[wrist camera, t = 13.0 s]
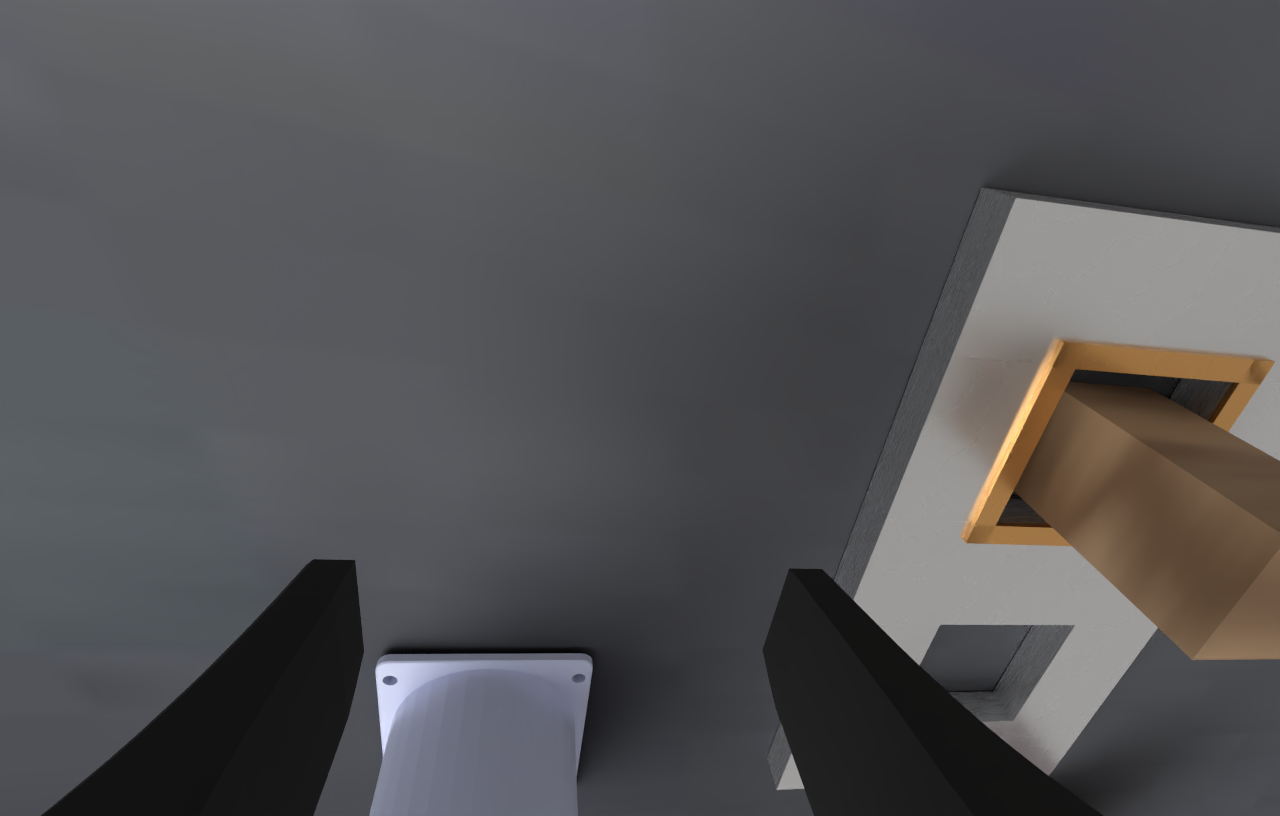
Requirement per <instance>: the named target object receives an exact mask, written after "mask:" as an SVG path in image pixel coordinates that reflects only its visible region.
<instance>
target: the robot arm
mask: <svg viewBox="0 0 1280 816" xmlns="http://www.w3.org/2000/svg"><path fill="white" fill-rule="evenodd" d="M363 653H364V646H363V636H362V626H361V616H360V606H359V596H358V586H357V576H356V566H355V560H317V559H313V560H312V561H311V562H310V563H308V564H307V565H306V566H305V567H304V568H303V569H302V570H301V571H300V572H299V574H298V575H297V576H296V577H295V578H294V579H293V580H292V581H291V582H290V583H289V585H288V586H287V587H286V588H285V589H284V590H283V591H282V592H281V593H280V594H279V595H278V597H277V598H276V599H275V600H274V601H273V602H272V603H271V604H270V605H269V606H268V607H267V608H266V609H265V611H264V612H263V613H262V614H261V615H260V616H259V617H258V618H257V619H256V620H255V621H254V622H253V623H252V624H251V625H250V626H249V627H248V628H247V629H246V631H245V632H244V633H243V634H242V635H241V636H240V637H239V638H238V639H237V640H236V641H235V642H234V643H233V644H232V645H231V646H230V647H229V648H228V649H227V650H226V651H225V652H224V653H223V654H222V655H221V656H220V657H219V658H218V659H217V660H216V661H215V662H214V663H213V664H212V665H211V666H210V667H209V668H208V669H207V670H206V671H205V672H204V673H203V674H202V675H201V676H200V677H199V678H198V679H197V680H196V681H195V682H193V683H192V684H191V685H190V686H189V687H188V688H187V689H186V690H185V691H184V692H183V693H182V694H181V695H180V696H178V697H177V698H176V699H175V700H174V701H173V702H172V703H171V704H170V705H169V706H168V707H167V708H166V709H164V710H163V711H162V712H161V713H160V714H159V715H158V716H157V717H156V718H155V719H154V720H153V721H151V722H150V723H149V724H148V725H147V726H146V727H145V728H144V729H143V730H142V731H141V732H140V733H138V734H137V735H136V736H135V737H134V738H133V739H132V740H131V741H129V742H128V743H127V744H126V745H125V746H124V747H123V748H121V749H120V750H119V751H118V752H117V753H116V754H115V755H113V756H112V757H111V758H110V759H109V760H108V761H106V762H105V763H104V764H103V765H102V766H101V767H99V768H98V769H97V770H96V771H95V772H93V773H92V774H91V775H90V776H89V777H88V778H86V779H85V780H84V781H83V782H81V783H80V784H79V785H78V786H77V787H75V788H74V789H73V790H72V791H70V792H69V793H68V794H67V795H66V796H64V797H63V798H62V799H61V800H60V801H58V802H57V803H56V804H55V805H53V806H52V807H51V808H50V809H48V810H47V811H46V812H45V813H43V814H42V815H41V816H313V815H314V812H315V809H316V806H317V804H318V801H319V798H320V795H321V792H322V790H323V787H324V784H325V781H326V779H327V776H328V773H329V770H330V767H331V765H332V762H333V759H334V756H335V753H336V751H337V748H338V745H339V742H340V739H341V736H342V734H343V731H344V728H345V725H346V722H347V719H348V716H349V712H350V708H351V704H352V700H353V696H354V692H355V688H356V684H357V680H358V675H359V671H360V666H361V662H362V658H363ZM763 653H764V658H765V663H766V667H767V672H768V677H769V682H770V686H771V690H772V694H773V698H774V702H775V706H776V710H777V713H778V715H779V718H780V721H781V724H782V727H783V730H784V733H785V736H786V738H787V741H788V744H789V747H790V750H791V753H792V755H793V758H794V761H795V764H796V767H797V769H798V772H799V775H800V778H801V780H802V783H803V786H804V789H805V792H806V794H807V797H808V800H809V803H810V805H811V808H812V811H813V814H814V816H1103V815H1102V814H1100V813H1099V812H1097V811H1096V810H1095V809H1093V808H1092V807H1090V806H1089V805H1087V804H1086V803H1085V802H1083V801H1082V800H1080V799H1079V798H1078V797H1076V796H1075V795H1074V794H1072V793H1071V792H1069V791H1068V790H1067V789H1065V788H1064V787H1063V786H1061V785H1060V784H1059V783H1057V782H1056V781H1055V780H1053V779H1052V778H1051V777H1049V776H1048V775H1047V774H1046V773H1044V772H1043V771H1042V770H1040V769H1039V768H1038V767H1037V766H1035V765H1034V764H1033V763H1032V762H1030V761H1029V760H1028V759H1027V758H1025V757H1024V756H1023V755H1021V754H1020V753H1019V752H1018V751H1016V750H1015V749H1014V748H1013V747H1011V746H1010V745H1009V744H1008V743H1006V742H1005V741H1004V740H1003V739H1001V738H1000V737H999V736H998V735H997V734H995V733H994V732H993V731H992V730H991V729H989V728H988V727H987V726H986V725H985V724H984V723H982V722H981V721H980V720H979V719H978V718H977V717H975V716H974V715H973V714H972V713H971V712H970V711H969V710H968V709H966V708H965V707H964V706H963V705H962V704H961V703H960V702H959V701H957V700H956V699H955V698H954V697H953V696H952V695H951V694H950V693H948V692H947V691H946V690H945V689H944V688H943V687H942V686H941V685H940V684H939V683H938V682H936V681H935V680H934V679H933V678H932V677H931V676H930V675H929V674H928V673H927V672H926V671H925V670H924V669H923V668H921V667H920V666H919V665H918V664H917V663H916V662H915V661H914V660H913V659H912V658H911V657H910V656H909V655H908V654H907V653H906V652H905V651H904V650H903V649H902V648H901V647H900V646H899V645H898V644H897V643H896V642H895V641H894V640H893V639H892V638H891V637H890V636H889V635H888V634H887V633H886V632H885V631H884V630H883V629H882V628H881V627H880V626H879V625H878V624H877V623H876V622H875V621H874V620H873V619H872V618H871V617H870V616H869V615H868V614H867V613H866V612H865V611H864V610H863V609H862V608H861V607H860V606H859V605H858V604H857V603H856V602H855V601H854V600H853V599H852V598H851V597H850V596H849V595H848V594H847V593H846V592H845V591H844V590H843V589H842V588H841V587H840V586H839V585H838V584H837V583H836V582H835V581H834V580H833V579H832V578H831V577H830V576H828V575H827V574H826V573H825V572H824V571H823V570H822V569H789V571H788V574H787V577H786V580H785V583H784V586H783V590H782V593H781V596H780V599H779V602H778V605H777V608H776V611H775V614H774V617H773V620H772V623H771V626H770V629H769V632H768V635H767V638H766V641H765V644H764V647H763ZM592 670H593V665H592V658H591V657H590V656H589V655H586V654H582V653H527V654H389V655H385V656H382V657H381V658H380V659H379V660H378V662H377V666H376V670H375V671H376V683H377V694H378V705H379V716H380V728H381V739H382V750H383V761H382V765H381V769H380V773H379V778H378V782H377V786H376V790H375V794H374V799H373V803H372V807H371V811H370V815H369V816H578V808H577V779H576V777H577V771H578V764H579V757H580V751H581V744H582V737H583V731H584V724H585V717H586V710H587V704H588V697H589V690H590V684H591V677H592Z"/></svg>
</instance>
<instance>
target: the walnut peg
mask: <svg viewBox="0 0 1280 816" xmlns="http://www.w3.org/2000/svg"><path fill="white" fill-rule="evenodd" d="M1013 491H1014V492H1015V493H1016V494H1017V495H1019V496H1020V497H1021V498H1022V499H1023V500H1024V501H1025V502H1026V503H1027V504H1028V505H1029V506H1030V507H1031V508H1032V509H1033V510H1034V511H1035V512H1036V513H1038V514H1039V515H1040V516H1041V517H1042V518H1043V519H1044V520H1045V521H1046V522H1047V523H1048V524H1049V525H1050V526H1051V527H1052V528H1053V529H1054V530H1055V531H1057V532H1058V533H1059V534H1060V535H1061V536H1062V537H1063V538H1064V539H1065V540H1066V541H1067V542H1068V543H1069V544H1070V545H1071V546H1072V547H1073V548H1075V549H1076V550H1077V551H1078V552H1079V553H1080V554H1081V555H1082V556H1083V557H1084V558H1085V559H1086V560H1087V561H1088V562H1089V563H1090V564H1091V565H1092V566H1094V567H1095V568H1096V569H1097V570H1098V571H1099V572H1100V573H1101V574H1102V575H1103V576H1104V577H1105V578H1106V579H1107V580H1108V581H1109V582H1110V583H1111V584H1113V585H1114V586H1115V587H1116V588H1117V589H1118V590H1119V591H1120V592H1121V593H1122V594H1123V595H1124V596H1125V597H1126V598H1127V599H1128V600H1129V601H1131V602H1132V603H1133V604H1134V605H1135V606H1136V607H1137V608H1138V609H1139V610H1140V611H1141V612H1142V613H1143V614H1144V615H1145V616H1146V617H1147V618H1148V619H1150V620H1151V621H1152V622H1153V623H1154V624H1155V625H1156V626H1157V627H1158V628H1159V629H1160V630H1161V631H1162V632H1163V633H1164V634H1165V635H1166V636H1167V637H1169V638H1170V639H1171V640H1172V641H1173V642H1174V643H1175V644H1176V645H1177V646H1178V647H1179V648H1180V649H1181V650H1182V651H1183V652H1184V653H1185V654H1187V655H1188V656H1189V657H1190V658H1191V659H1192V660H1219V659H1280V461H1279V460H1277V459H1276V458H1274V457H1272V456H1270V455H1268V454H1267V453H1265V452H1263V451H1261V450H1259V449H1258V448H1256V447H1254V446H1252V445H1251V444H1249V443H1247V442H1245V441H1243V440H1242V439H1240V438H1238V437H1236V436H1234V435H1233V434H1231V433H1229V432H1227V431H1225V430H1224V429H1222V428H1220V427H1218V426H1217V425H1215V424H1213V423H1211V422H1209V421H1208V420H1206V419H1204V418H1202V417H1200V416H1199V415H1197V414H1195V413H1193V412H1191V411H1190V410H1188V409H1186V408H1184V407H1183V406H1181V405H1179V404H1177V403H1175V402H1174V401H1172V400H1170V399H1168V398H1166V397H1165V396H1163V395H1161V394H1159V393H1157V392H1156V391H1154V390H1152V389H1150V388H1145V387H1132V386H1118V385H1105V384H1091V383H1078V382H1069V383H1068V385H1067V387H1066V389H1065V390H1064V392H1063V394H1062V396H1061V398H1060V400H1059V402H1058V404H1057V406H1056V408H1055V410H1054V412H1053V414H1052V416H1051V418H1050V420H1049V422H1048V424H1047V426H1046V428H1045V430H1044V432H1043V434H1042V436H1041V438H1040V439H1039V441H1038V443H1037V445H1036V447H1035V449H1034V451H1033V453H1032V455H1031V457H1030V459H1029V461H1028V463H1027V465H1026V467H1025V469H1024V471H1023V473H1022V475H1021V477H1020V479H1019V481H1018V483H1017V485H1016V487H1015V488H1014V490H1013Z"/></svg>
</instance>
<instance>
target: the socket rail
mask: <svg viewBox="0 0 1280 816" xmlns="http://www.w3.org/2000/svg"><path fill="white" fill-rule="evenodd" d="M1075 369H1080V370H1092V371H1104V372H1116V373H1128V374H1140V375H1152V376H1164V377H1176V378H1182V379H1181V380H1180V382H1179V384H1178V385H1177V387H1176V389H1175V390H1174V392H1173V393H1172V395H1171V397H1170V398H1169V399H1170V400H1172V401H1174V402H1175V403H1177V404H1179V405H1181V406H1183V407H1184V408H1186V409H1188V410H1190V411H1191V412H1193V413H1195V414H1197V415H1199V416H1200V417H1202V418H1204V419H1206V420H1208V421H1209V422H1211V423H1213V424H1215V425H1217V426H1218V427H1220V428H1222V429H1224V430H1225V431H1227V432H1229V433H1231V434H1233V435H1234V436H1236V437H1238V438H1240V439H1242V440H1243V441H1245V442H1247V443H1249V444H1251V445H1252V446H1254V447H1256V448H1258V449H1259V450H1261V451H1263V452H1265V453H1267V454H1268V455H1270V456H1272V457H1274V458H1276V459H1277V460H1279V461H1280V228H1278V227H1271V226H1263V225H1256V224H1249V223H1241V222H1234V221H1227V220H1219V219H1212V218H1205V217H1197V216H1190V215H1183V214H1175V213H1168V212H1160V211H1153V210H1146V209H1138V208H1131V207H1124V206H1116V205H1109V204H1102V203H1094V202H1087V201H1080V200H1072V199H1065V198H1058V197H1050V196H1043V195H1036V194H1028V193H1021V192H1014V191H1006V190H999V189H992V188H984V187H982V188H981V191H980V193H979V196H978V199H977V201H976V204H975V207H974V209H973V212H972V215H971V217H970V220H969V223H968V225H967V228H966V231H965V233H964V236H963V239H962V241H961V244H960V247H959V249H958V252H957V254H956V257H955V260H954V262H953V265H952V268H951V270H950V273H949V276H948V278H947V281H946V284H945V286H944V289H943V292H942V294H941V297H940V300H939V302H938V305H937V308H936V310H935V313H934V316H933V318H932V321H931V324H930V326H929V329H928V331H927V334H926V337H925V339H924V342H923V345H922V347H921V350H920V353H919V355H918V358H917V361H916V363H915V366H914V369H913V371H912V374H911V377H910V379H909V382H908V385H907V387H906V390H905V393H904V395H903V398H902V401H901V403H900V406H899V408H898V411H897V414H896V416H895V419H894V422H893V424H892V427H891V430H890V432H889V435H888V438H887V440H886V443H885V446H884V448H883V451H882V454H881V456H880V459H879V462H878V464H877V467H876V470H875V472H874V475H873V478H872V480H871V483H870V485H869V488H868V491H867V493H866V496H865V499H864V501H863V504H862V507H861V509H860V512H859V515H858V517H857V520H856V523H855V525H854V528H853V531H852V533H851V536H850V539H849V541H848V544H847V547H846V549H845V552H844V555H843V557H842V560H841V563H840V565H839V568H838V570H837V573H836V576H835V578H834V581H835V582H836V583H837V584H838V585H839V586H840V587H841V588H842V589H843V590H844V591H845V592H846V593H847V594H848V595H849V596H850V597H851V598H852V599H853V600H854V601H855V602H856V603H857V604H858V605H859V606H860V607H861V608H862V609H863V610H864V611H865V612H866V613H867V614H868V615H869V616H870V617H871V618H872V619H873V620H874V621H875V622H876V623H877V624H878V625H879V626H880V627H881V628H882V629H883V630H884V631H885V632H886V633H887V634H888V635H889V636H890V637H891V638H892V639H893V640H894V641H895V642H896V643H897V644H898V645H899V646H900V647H901V648H902V649H903V650H904V651H905V652H906V653H907V654H908V655H909V656H910V657H911V658H912V659H913V660H914V661H915V662H916V663H917V664H918V665H919V666H920V664H921V662H922V660H923V658H924V656H925V654H926V652H927V650H928V648H929V646H930V644H931V642H932V640H933V638H934V636H935V634H936V632H937V630H938V628H939V626H940V625H1033V626H1032V628H1031V629H1030V631H1029V633H1028V634H1027V636H1026V638H1025V639H1024V641H1023V643H1022V644H1021V646H1020V648H1019V649H1018V651H1017V653H1016V654H1015V656H1014V658H1013V659H1012V661H1011V663H1010V664H1009V666H1008V667H1007V669H1006V671H1005V672H1004V674H1003V676H1002V677H1001V679H1000V681H999V682H998V684H997V686H996V687H995V689H994V691H993V692H948V693H950V694H951V695H952V696H953V697H954V698H955V699H956V700H957V701H959V702H960V703H961V704H962V705H963V706H964V707H965V708H966V709H968V710H969V711H970V712H971V713H972V714H973V715H974V716H975V717H977V718H978V719H979V720H980V721H981V722H982V723H984V724H985V725H986V726H987V727H988V728H989V729H991V730H992V731H993V732H994V733H995V734H997V735H998V736H999V737H1000V738H1001V739H1003V740H1004V741H1005V742H1006V743H1008V744H1009V745H1010V746H1011V747H1013V748H1014V749H1015V750H1016V751H1018V752H1019V753H1020V754H1021V755H1023V756H1024V757H1025V758H1027V759H1028V760H1029V761H1030V762H1032V763H1033V764H1034V765H1035V766H1037V767H1038V768H1039V769H1040V770H1042V771H1043V772H1044V773H1046V774H1047V775H1048V776H1049V775H1050V774H1051V772H1052V771H1053V770H1054V768H1055V767H1056V766H1057V764H1058V763H1059V761H1060V760H1061V759H1062V757H1063V756H1064V755H1065V753H1066V752H1067V751H1068V749H1069V748H1070V747H1071V745H1072V744H1073V742H1074V741H1075V740H1076V738H1077V737H1078V736H1079V734H1080V733H1081V732H1082V730H1083V729H1084V727H1085V726H1086V725H1087V723H1088V722H1089V721H1090V719H1091V718H1092V717H1093V715H1094V714H1095V712H1096V711H1097V710H1098V708H1099V707H1100V706H1101V704H1102V703H1103V702H1104V700H1105V699H1106V697H1107V696H1108V695H1109V693H1110V692H1111V691H1112V689H1113V688H1114V687H1115V685H1116V684H1117V683H1118V681H1119V680H1120V678H1121V677H1122V676H1123V674H1124V673H1125V672H1126V670H1127V669H1128V668H1129V666H1130V665H1131V663H1132V662H1133V661H1134V659H1135V658H1136V657H1137V655H1138V654H1139V653H1140V651H1141V650H1142V648H1143V647H1144V646H1145V644H1146V643H1147V642H1148V640H1149V639H1150V638H1151V636H1152V635H1153V633H1154V632H1155V631H1156V629H1157V628H1158V627H1157V626H1156V625H1155V624H1154V623H1153V622H1152V621H1151V620H1150V619H1148V618H1147V617H1146V616H1145V615H1144V614H1143V613H1142V612H1141V611H1140V610H1139V609H1138V608H1137V607H1136V606H1135V605H1134V604H1133V603H1132V602H1131V601H1129V600H1128V599H1127V598H1126V597H1125V596H1124V595H1123V594H1122V593H1121V592H1120V591H1119V590H1118V589H1117V588H1116V587H1115V586H1114V585H1113V584H1111V583H1110V582H1109V581H1108V580H1107V579H1106V578H1105V577H1104V576H1103V575H1102V574H1101V573H1100V572H1099V571H1098V570H1097V569H1096V568H1095V567H1094V566H1092V565H1091V564H1090V563H1089V562H1088V561H1087V560H1086V559H1085V558H1084V557H1083V556H1082V555H1081V554H1080V553H1079V552H1078V551H1077V550H1076V549H1075V548H1073V547H1072V546H1071V545H1070V544H1069V543H1068V542H1067V541H1066V540H1065V539H1064V538H1063V537H1062V536H1061V535H1060V534H1059V533H1058V532H1057V531H1055V530H1054V529H1053V528H1052V527H1051V526H1050V525H1049V524H1048V523H1047V522H1046V521H1045V520H1044V519H1043V518H1042V517H1041V516H1040V515H1039V514H1038V513H1036V512H1035V511H1034V510H1033V509H1032V508H1031V507H1030V506H1029V505H1028V504H1027V503H1026V502H1025V501H1024V500H1023V499H1022V498H1010V496H1011V494H1012V492H1013V490H1014V488H1015V487H1016V485H1017V483H1018V481H1019V479H1020V477H1021V475H1022V473H1023V471H1024V469H1025V467H1026V465H1027V463H1028V461H1029V459H1030V457H1031V455H1032V453H1033V451H1034V449H1035V447H1036V445H1037V443H1038V441H1039V439H1040V438H1041V436H1042V434H1043V432H1044V430H1045V428H1046V426H1047V424H1048V422H1049V420H1050V418H1051V416H1052V414H1053V412H1054V410H1055V408H1056V406H1057V404H1058V402H1059V400H1060V398H1061V396H1062V394H1063V392H1064V390H1065V389H1066V387H1067V385H1068V383H1069V381H1070V379H1071V377H1072V375H1073V373H1074V371H1075ZM767 759H768V763H769V766H770V769H771V773H772V776H773V779H774V782H775V786H776V789H777V790H782V789H804V786H803V783H802V780H801V778H800V775H799V772H798V769H797V767H796V764H795V761H794V758H793V755H792V753H791V750H790V747H789V744H788V741H787V738H786V736H785V733H784V730H783V727H782V724H781V722H780V724H779V727H778V730H777V732H776V735H775V738H774V740H773V743H772V746H771V748H770V751H769V754H768V756H767Z"/></svg>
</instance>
